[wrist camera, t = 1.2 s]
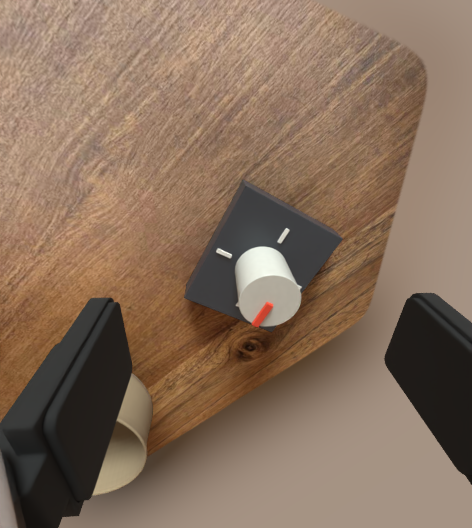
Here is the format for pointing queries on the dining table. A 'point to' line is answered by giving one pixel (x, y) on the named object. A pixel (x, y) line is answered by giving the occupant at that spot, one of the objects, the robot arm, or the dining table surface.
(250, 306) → the lock knob
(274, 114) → the dining table surface
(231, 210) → the lock panel
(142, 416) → the bowl
